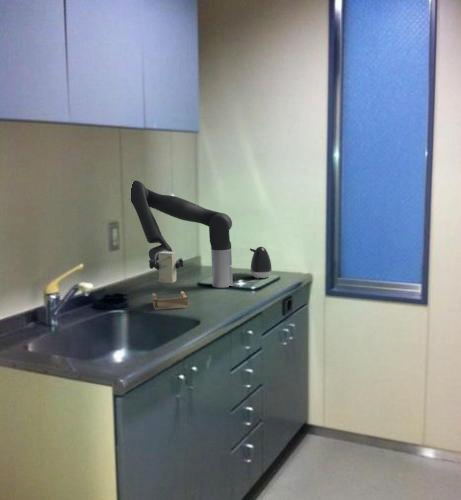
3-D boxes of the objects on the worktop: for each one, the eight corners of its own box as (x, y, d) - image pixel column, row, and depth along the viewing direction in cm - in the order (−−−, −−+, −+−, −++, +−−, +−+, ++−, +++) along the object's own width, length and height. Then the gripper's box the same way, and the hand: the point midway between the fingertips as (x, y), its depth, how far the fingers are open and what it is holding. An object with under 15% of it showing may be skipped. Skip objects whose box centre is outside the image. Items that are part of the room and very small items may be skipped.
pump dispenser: (251, 275, 313) (250, 245, 311) (272, 275, 312) (271, 244, 310) (249, 279, 303) (248, 248, 301) (271, 279, 302) (270, 248, 300)
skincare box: (158, 282, 256) (157, 252, 254) (163, 280, 260) (162, 250, 258) (172, 283, 254) (171, 253, 252) (177, 280, 258) (176, 251, 256)
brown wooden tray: (152, 302, 264) (152, 293, 263) (183, 300, 266) (183, 290, 265) (155, 310, 251) (154, 300, 250) (187, 307, 253) (187, 297, 253)
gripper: (146, 251, 268) (149, 258, 252) (180, 250, 271) (185, 256, 255) (147, 269, 269) (150, 277, 253) (181, 267, 272) (186, 274, 256)
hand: (168, 266), depth 254 cm, fingers closed on skincare box, 7 cm apart
